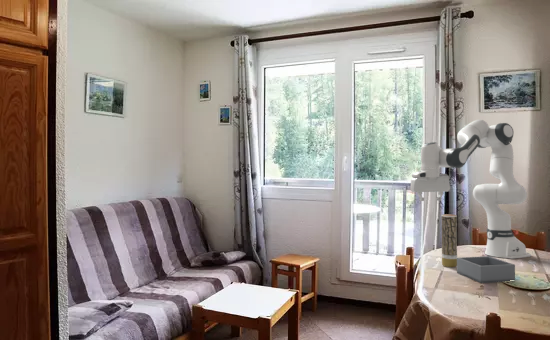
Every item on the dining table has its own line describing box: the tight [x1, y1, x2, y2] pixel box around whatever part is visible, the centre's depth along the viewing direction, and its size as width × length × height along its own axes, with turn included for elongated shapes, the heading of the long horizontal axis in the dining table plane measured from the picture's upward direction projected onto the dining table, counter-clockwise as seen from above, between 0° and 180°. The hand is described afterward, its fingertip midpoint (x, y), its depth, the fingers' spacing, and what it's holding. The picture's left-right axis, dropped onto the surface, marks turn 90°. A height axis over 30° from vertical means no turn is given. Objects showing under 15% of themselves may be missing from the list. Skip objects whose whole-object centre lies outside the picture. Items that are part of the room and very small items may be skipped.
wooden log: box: [441, 213, 458, 268], centre depth 188 cm, size 7×7×25 cm
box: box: [456, 255, 516, 284], centre depth 169 cm, size 16×16×7 cm
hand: (430, 200), depth 197 cm, fingers open, 8 cm apart
